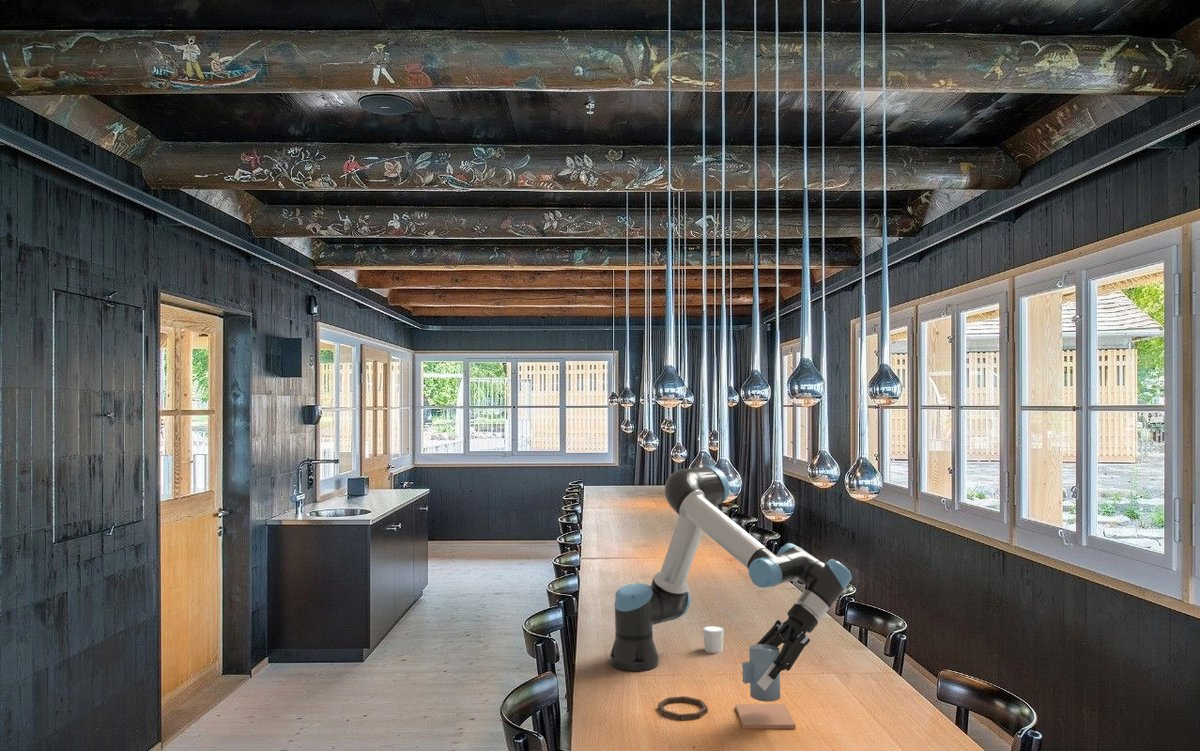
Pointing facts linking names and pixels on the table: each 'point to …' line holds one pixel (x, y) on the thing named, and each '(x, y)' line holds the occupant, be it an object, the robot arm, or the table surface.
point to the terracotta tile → (764, 716)
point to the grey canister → (761, 672)
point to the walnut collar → (682, 716)
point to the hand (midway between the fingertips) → (753, 681)
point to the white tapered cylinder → (713, 638)
